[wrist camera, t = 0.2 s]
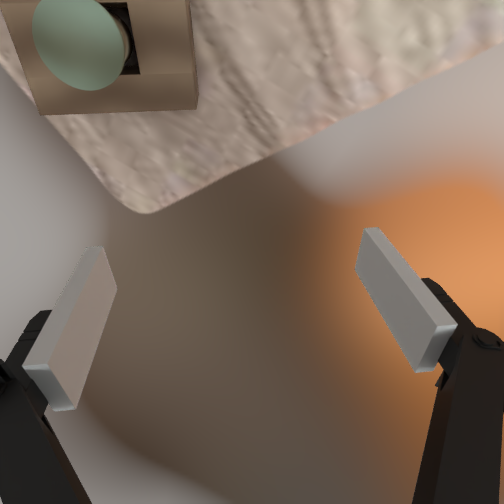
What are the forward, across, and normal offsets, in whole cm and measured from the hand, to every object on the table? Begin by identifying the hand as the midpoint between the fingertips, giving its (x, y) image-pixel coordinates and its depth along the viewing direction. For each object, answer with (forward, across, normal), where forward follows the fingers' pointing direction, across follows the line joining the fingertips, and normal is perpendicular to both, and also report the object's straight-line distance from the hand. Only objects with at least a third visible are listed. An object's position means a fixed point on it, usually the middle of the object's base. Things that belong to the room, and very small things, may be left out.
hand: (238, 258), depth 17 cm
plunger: (+22, -9, +9) cm, 26 cm away
